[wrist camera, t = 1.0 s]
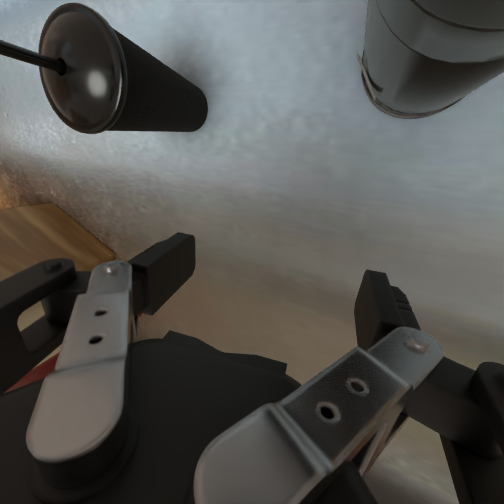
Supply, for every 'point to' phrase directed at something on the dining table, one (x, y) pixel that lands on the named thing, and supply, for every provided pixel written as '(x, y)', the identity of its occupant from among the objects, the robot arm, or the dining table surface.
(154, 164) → the dining table surface
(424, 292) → the dining table surface
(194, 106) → the drinking cup
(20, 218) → the wooden frame
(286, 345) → the dining table surface
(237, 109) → the dining table surface
